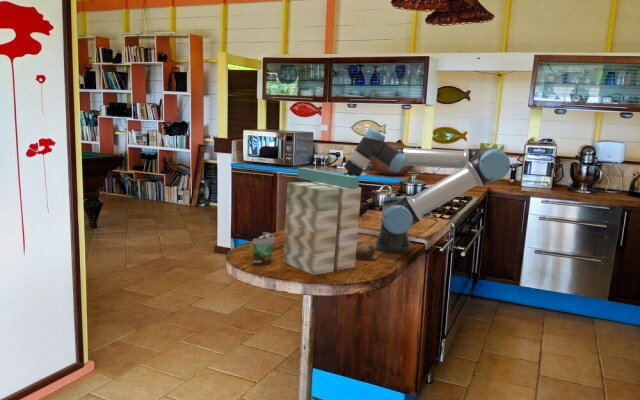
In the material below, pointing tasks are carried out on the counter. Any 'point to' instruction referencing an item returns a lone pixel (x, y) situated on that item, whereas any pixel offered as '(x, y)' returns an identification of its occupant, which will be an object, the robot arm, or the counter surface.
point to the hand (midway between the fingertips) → (327, 206)
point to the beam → (329, 178)
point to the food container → (262, 248)
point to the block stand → (321, 227)
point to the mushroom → (364, 251)
